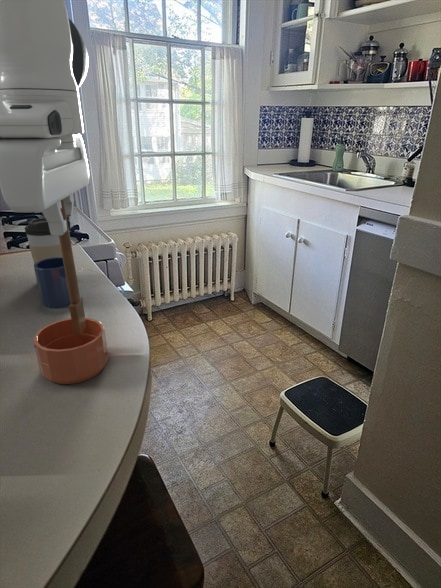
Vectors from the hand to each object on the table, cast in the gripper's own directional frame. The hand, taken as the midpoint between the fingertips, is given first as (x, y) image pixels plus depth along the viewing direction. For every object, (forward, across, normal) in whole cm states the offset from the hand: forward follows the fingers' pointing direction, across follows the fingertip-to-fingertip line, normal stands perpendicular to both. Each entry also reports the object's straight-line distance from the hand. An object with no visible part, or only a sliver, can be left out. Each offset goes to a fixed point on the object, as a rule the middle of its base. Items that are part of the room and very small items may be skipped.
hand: (62, 231), depth 53 cm
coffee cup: (+22, -35, -17) cm, 44 cm away
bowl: (+22, 0, -2) cm, 22 cm away
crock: (+22, -23, -12) cm, 34 cm away
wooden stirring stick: (+15, 0, 0) cm, 16 cm away
